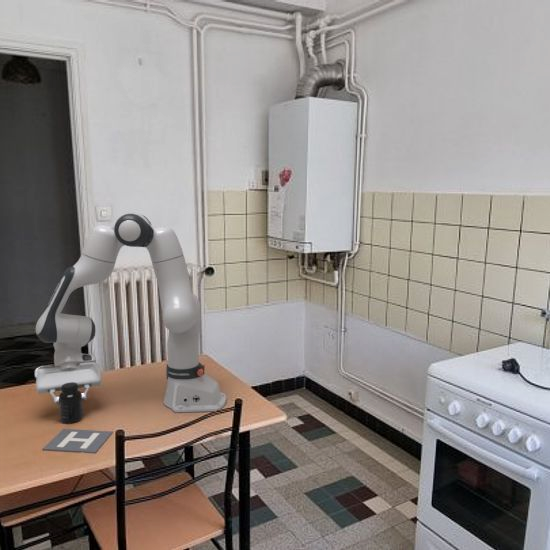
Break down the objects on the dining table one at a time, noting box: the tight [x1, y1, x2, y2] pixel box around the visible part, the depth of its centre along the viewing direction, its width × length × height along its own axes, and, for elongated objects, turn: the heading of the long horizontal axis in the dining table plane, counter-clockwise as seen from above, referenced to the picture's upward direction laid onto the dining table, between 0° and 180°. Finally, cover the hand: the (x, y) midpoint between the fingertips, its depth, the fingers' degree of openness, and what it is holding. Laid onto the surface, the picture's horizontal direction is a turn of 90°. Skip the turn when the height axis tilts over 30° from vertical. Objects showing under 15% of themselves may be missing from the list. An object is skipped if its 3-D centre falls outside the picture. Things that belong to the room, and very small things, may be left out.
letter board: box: [41, 428, 114, 454], centre depth 142 cm, size 16×12×1 cm
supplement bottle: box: [58, 382, 84, 424], centre depth 155 cm, size 7×7×12 cm
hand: (70, 401), depth 154 cm, fingers closed on supplement bottle, 7 cm apart
